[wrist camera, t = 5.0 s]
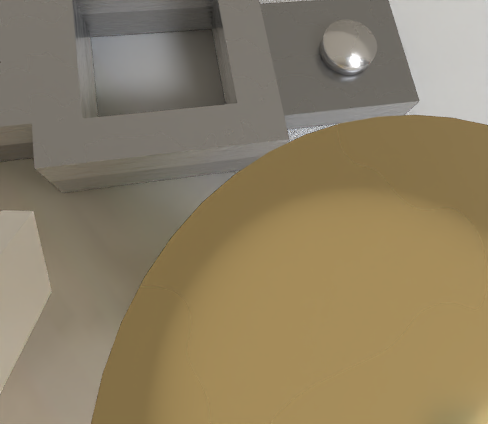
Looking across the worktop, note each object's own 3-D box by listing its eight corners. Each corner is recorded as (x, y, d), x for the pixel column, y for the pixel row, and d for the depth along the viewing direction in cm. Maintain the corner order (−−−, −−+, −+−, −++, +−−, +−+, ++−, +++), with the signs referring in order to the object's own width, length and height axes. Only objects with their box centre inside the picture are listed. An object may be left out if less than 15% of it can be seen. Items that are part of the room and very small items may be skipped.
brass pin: (289, 262, 17) (629, 89, 4) (315, 385, 16) (951, 800, 2) (173, 281, 16) (55, 152, 3) (190, 412, 15) (128, 1243, 2)
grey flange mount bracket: (365, -10, 21) (398, -71, 18) (412, 148, 19) (459, 113, 16) (-115, 17, 18) (-191, -54, 14) (-123, 216, 16) (-215, 189, 12)
